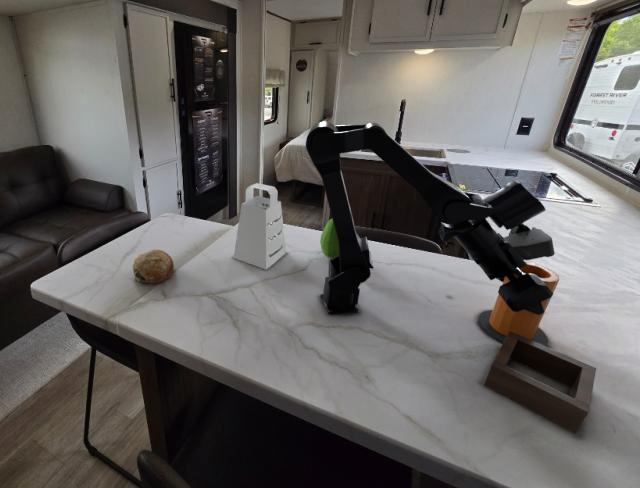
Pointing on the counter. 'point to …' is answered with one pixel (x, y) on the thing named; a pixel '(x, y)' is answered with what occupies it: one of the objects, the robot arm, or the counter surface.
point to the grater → (260, 229)
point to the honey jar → (524, 320)
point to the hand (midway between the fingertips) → (530, 301)
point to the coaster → (486, 326)
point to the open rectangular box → (537, 394)
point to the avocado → (329, 241)
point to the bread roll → (153, 266)
